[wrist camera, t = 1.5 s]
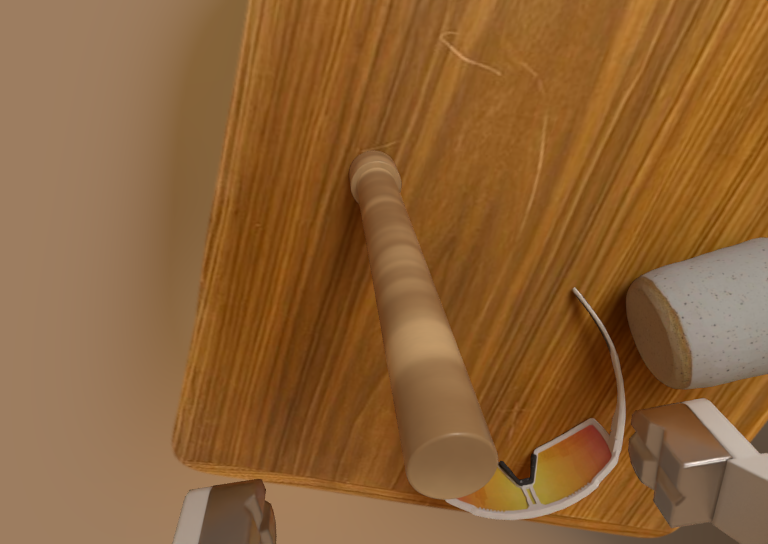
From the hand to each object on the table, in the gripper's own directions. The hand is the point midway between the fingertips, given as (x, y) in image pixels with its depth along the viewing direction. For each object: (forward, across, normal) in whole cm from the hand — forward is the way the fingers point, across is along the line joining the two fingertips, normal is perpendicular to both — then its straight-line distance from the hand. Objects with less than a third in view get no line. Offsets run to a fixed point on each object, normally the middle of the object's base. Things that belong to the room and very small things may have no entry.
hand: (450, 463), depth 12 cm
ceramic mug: (+20, -19, +12) cm, 30 cm away
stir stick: (+20, 0, 0) cm, 20 cm away
